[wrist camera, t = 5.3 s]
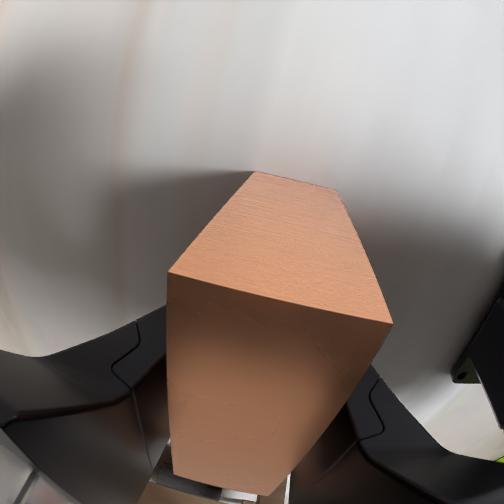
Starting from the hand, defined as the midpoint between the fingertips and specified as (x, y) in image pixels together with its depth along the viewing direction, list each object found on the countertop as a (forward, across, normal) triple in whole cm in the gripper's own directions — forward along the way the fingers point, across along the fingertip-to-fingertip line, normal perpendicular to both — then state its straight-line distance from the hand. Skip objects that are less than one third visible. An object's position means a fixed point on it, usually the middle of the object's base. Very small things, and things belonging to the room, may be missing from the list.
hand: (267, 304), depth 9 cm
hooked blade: (+1, +2, +8) cm, 9 cm away
